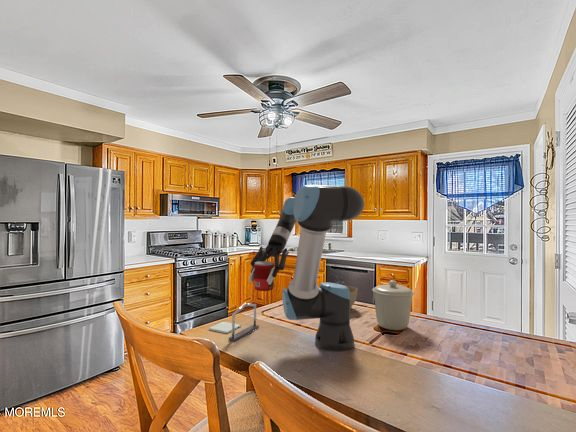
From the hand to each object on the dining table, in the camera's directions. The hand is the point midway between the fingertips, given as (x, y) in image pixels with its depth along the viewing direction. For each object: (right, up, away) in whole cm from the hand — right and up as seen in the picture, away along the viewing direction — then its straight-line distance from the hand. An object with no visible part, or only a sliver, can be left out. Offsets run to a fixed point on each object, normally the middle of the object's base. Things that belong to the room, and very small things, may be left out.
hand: (259, 281), depth 131 cm
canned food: (+2, -4, +3) cm, 5 cm away
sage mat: (-16, -23, +12) cm, 31 cm away
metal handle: (-7, -23, +6) cm, 25 cm away
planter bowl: (+41, -24, +44) cm, 65 cm away
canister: (+59, -24, +16) cm, 66 cm away
